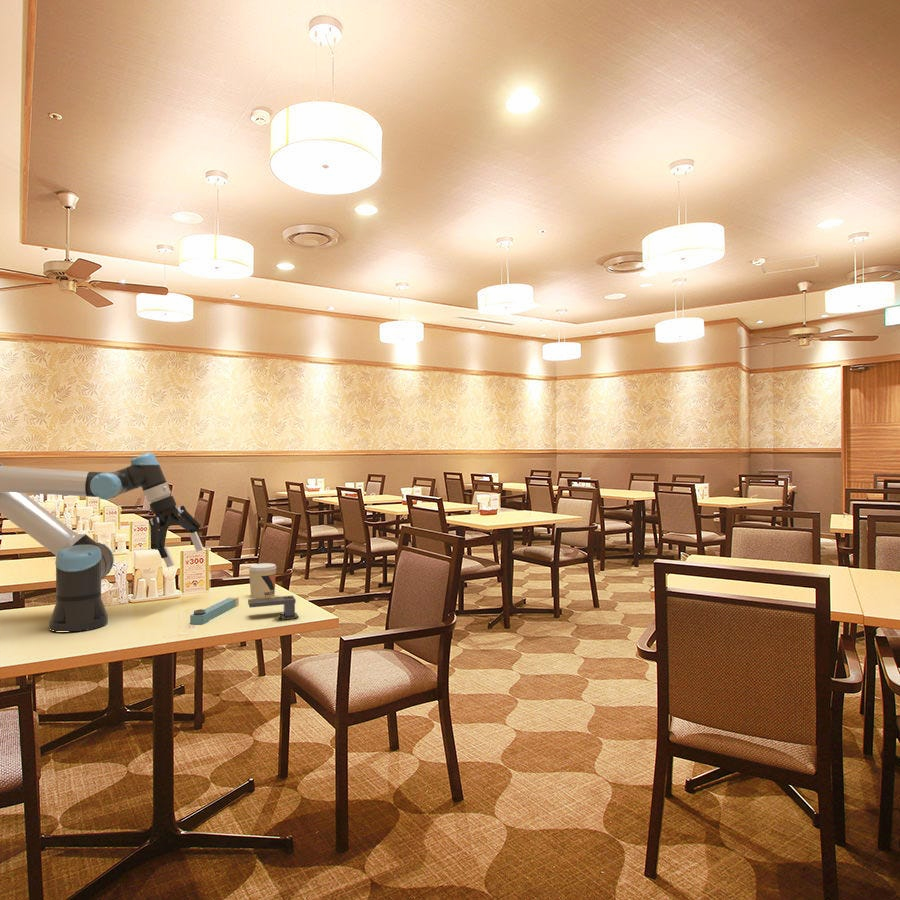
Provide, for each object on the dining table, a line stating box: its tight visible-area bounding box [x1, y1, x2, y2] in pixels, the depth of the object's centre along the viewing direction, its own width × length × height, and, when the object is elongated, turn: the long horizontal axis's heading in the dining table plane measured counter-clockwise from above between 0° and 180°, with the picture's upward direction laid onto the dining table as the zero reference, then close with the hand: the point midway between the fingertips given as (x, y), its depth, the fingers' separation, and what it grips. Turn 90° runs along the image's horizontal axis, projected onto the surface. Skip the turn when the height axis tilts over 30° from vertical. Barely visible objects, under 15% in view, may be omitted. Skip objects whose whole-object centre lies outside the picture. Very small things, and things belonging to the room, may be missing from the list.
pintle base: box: [193, 608, 205, 615], centre depth 190 cm, size 10×10×5 cm
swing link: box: [189, 596, 240, 625], centre depth 199 cm, size 24×4×3 cm, turn 173°
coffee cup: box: [248, 562, 278, 599], centre depth 225 cm, size 9×9×12 cm
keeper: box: [247, 595, 300, 621], centre depth 198 cm, size 14×6×6 cm, turn 113°
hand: (186, 558), depth 212 cm, fingers open, 13 cm apart
